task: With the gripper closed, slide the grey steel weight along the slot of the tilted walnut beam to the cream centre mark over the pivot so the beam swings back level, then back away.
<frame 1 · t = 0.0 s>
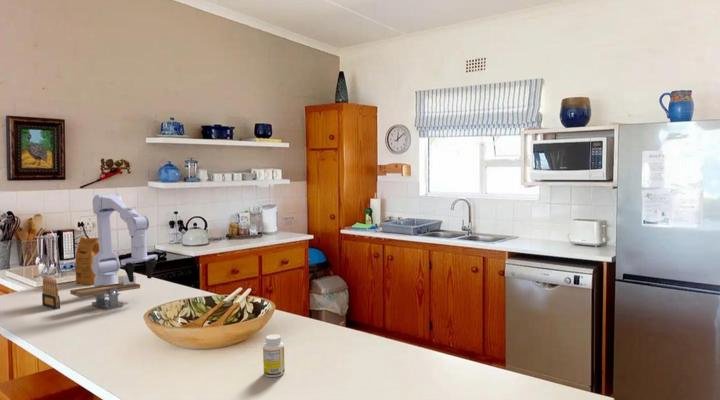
hand: (140, 280, 209), 10 cm above the counter, tool pointing down, fingers open, 7 cm apart
supplement bottle: (274, 374, 140), on the counter
stand: (107, 305, 209), on the counter
coffee package: (90, 283, 249), on the counter
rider: (126, 285, 215), point 6 cm above the counter, touching beam
ammunition clip: (51, 307, 208), on the counter
beam: (106, 290, 208), point 6 cm above the counter, hinge at -3.6°, touching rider
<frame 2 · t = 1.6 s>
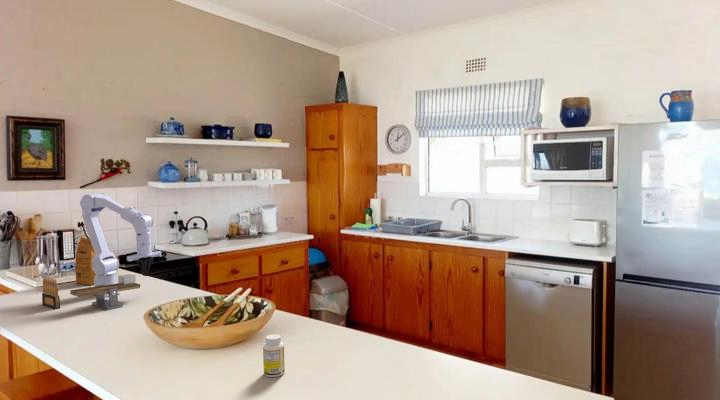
hand: (145, 275, 221), 9 cm above the counter, tool pointing down, fingers closed
beam: (106, 290, 208), point 6 cm above the counter, hinge at -3.1°, touching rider
everything else where it was.
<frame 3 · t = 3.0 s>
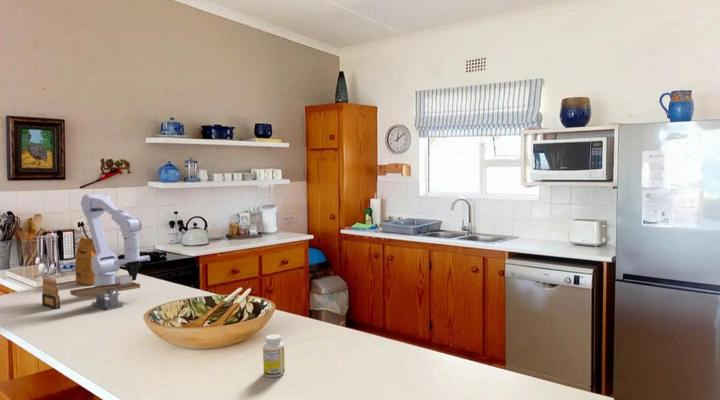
hand: (133, 280, 217), 8 cm above the counter, tool pointing down, fingers closed
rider: (123, 285, 214), point 7 cm above the counter, touching beam, gripper
beam: (106, 290, 208), point 6 cm above the counter, hinge at -2.8°, touching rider
everything else where it was.
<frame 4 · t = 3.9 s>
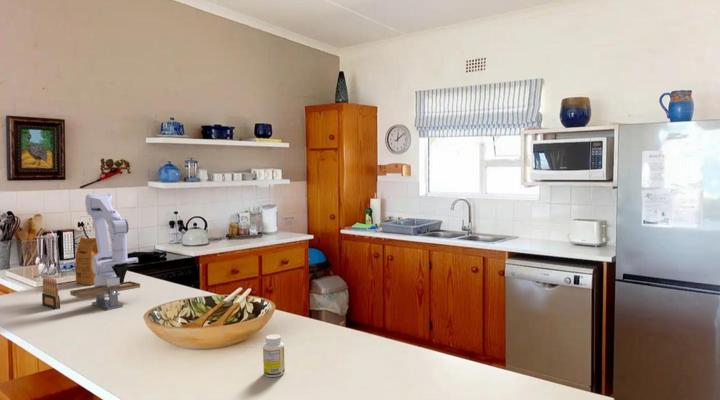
hand: (121, 282, 213), 8 cm above the counter, tool pointing down, fingers closed
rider: (110, 287, 210), point 7 cm above the counter, touching beam, gripper
beam: (106, 290, 208), point 6 cm above the counter, hinge at -2.0°, touching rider
everything else where it was.
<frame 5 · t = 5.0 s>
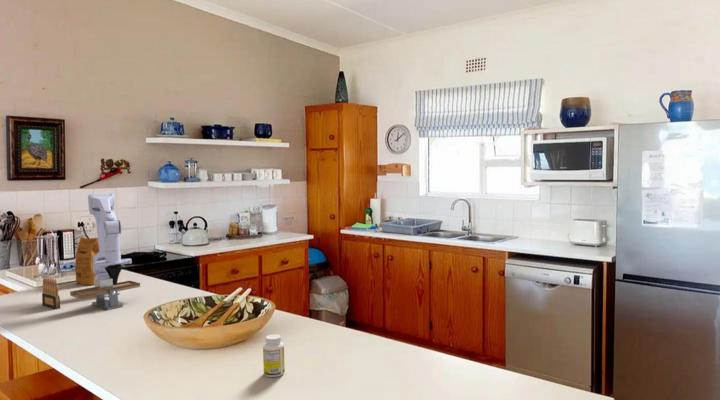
hand: (114, 283, 211), 8 cm above the counter, tool pointing down, fingers closed
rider: (104, 288, 208), point 7 cm above the counter, touching beam, gripper
beam: (106, 290, 208), point 6 cm above the counter, hinge at -0.6°, touching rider
everything else where it was.
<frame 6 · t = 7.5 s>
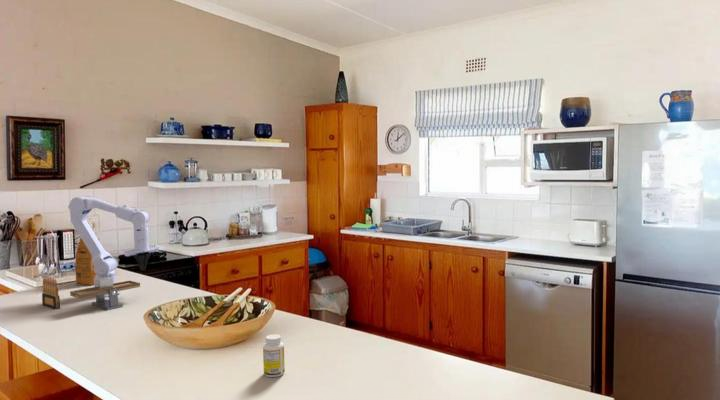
hand: (142, 270, 226), 10 cm above the counter, tool pointing down, fingers closed
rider: (104, 288, 208), point 7 cm above the counter, touching beam
everything else where it was.
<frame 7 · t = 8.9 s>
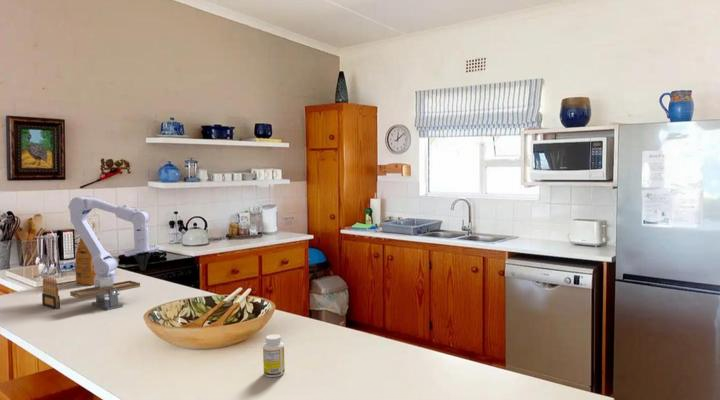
hand: (142, 270, 226), 10 cm above the counter, tool pointing down, fingers closed
nothing on the counter moved.
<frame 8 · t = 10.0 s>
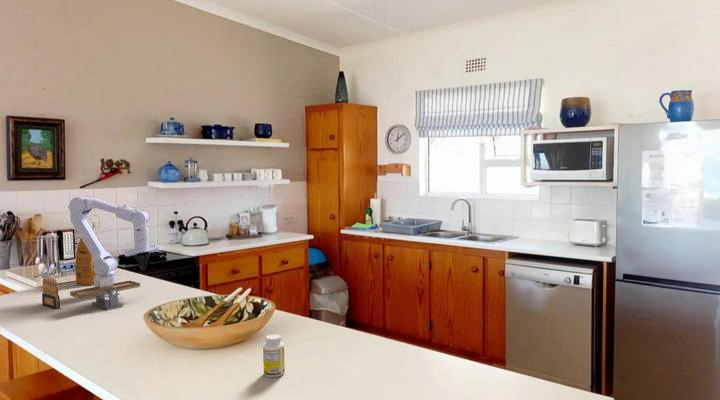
hand: (142, 270, 226), 10 cm above the counter, tool pointing down, fingers closed
nothing on the counter moved.
at the end: beam at -1° (first picture: -4°); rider 0.8 cm from the stand (horizontally); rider point 7.0 cm above the counter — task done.
